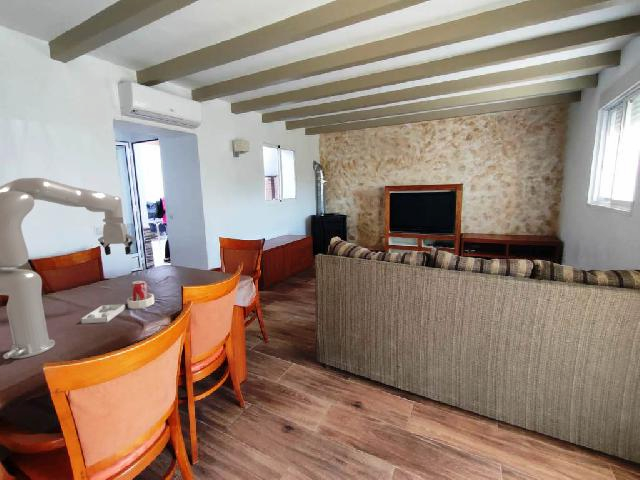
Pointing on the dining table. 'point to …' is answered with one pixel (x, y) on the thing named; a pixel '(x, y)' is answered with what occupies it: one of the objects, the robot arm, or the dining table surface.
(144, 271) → the dining table surface
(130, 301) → the bowl
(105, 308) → the pebble
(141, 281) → the soda can
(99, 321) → the parts tray
